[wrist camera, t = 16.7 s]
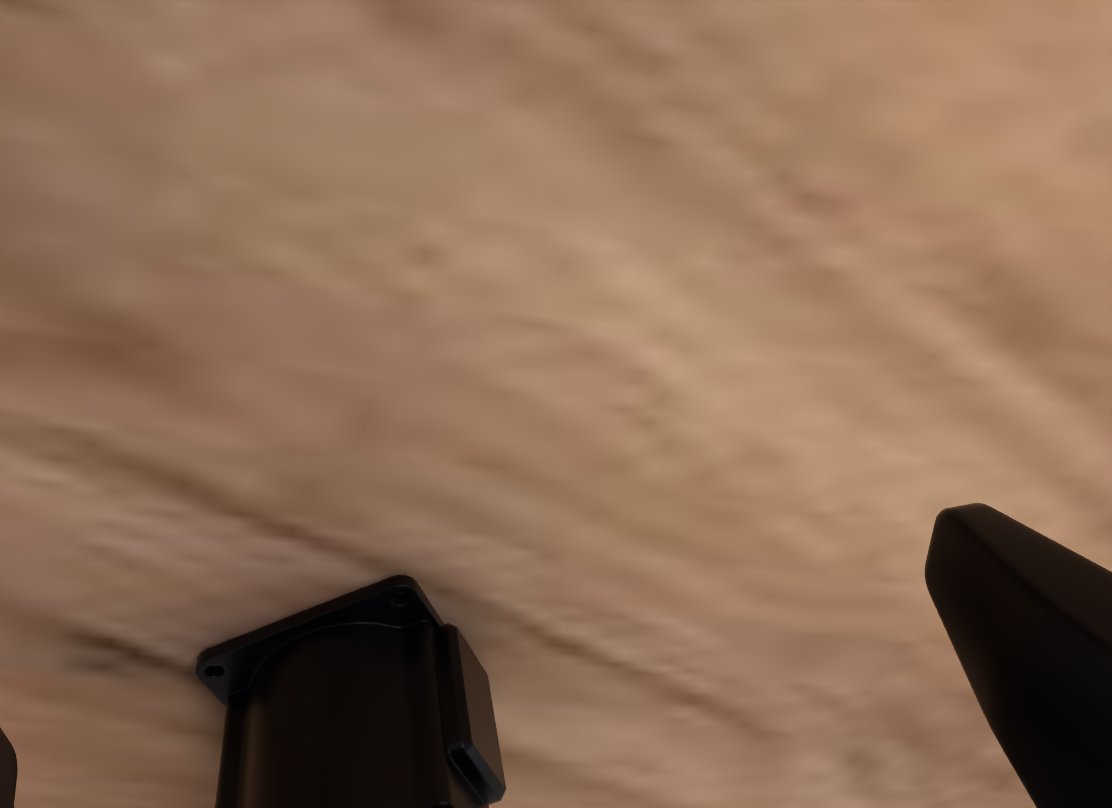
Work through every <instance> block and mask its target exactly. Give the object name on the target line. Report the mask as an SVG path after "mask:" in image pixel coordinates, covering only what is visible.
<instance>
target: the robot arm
mask: <svg viewBox="0 0 1112 808" xmlns="http://www.w3.org/2000/svg"><path fill="white" fill-rule="evenodd" d="M925 580H926V585H927V588H928V591H929V593H930V596H931V598H932V600H933V602H934V605H935V607H936V609H937V611H938V614H939V616H940V618H941V620H942V622H943V625H944V627H945V629H946V631H947V634H948V636H949V638H950V640H951V642H952V645H953V647H954V649H955V651H956V653H957V656H958V658H959V660H960V662H961V665H962V667H963V669H964V671H965V673H966V676H967V678H968V680H969V682H970V685H971V687H972V689H973V691H974V693H975V696H976V698H977V700H978V702H979V704H980V707H981V709H982V711H983V713H984V715H985V717H986V719H987V721H988V723H989V725H990V727H991V729H992V731H993V733H994V735H995V736H996V738H997V740H998V742H999V744H1000V745H1001V747H1002V749H1003V751H1004V753H1005V754H1006V756H1007V758H1008V759H1009V761H1010V763H1011V764H1012V766H1013V768H1014V770H1015V771H1016V773H1017V775H1018V776H1019V778H1020V780H1021V782H1022V783H1023V785H1024V787H1025V788H1026V790H1027V792H1028V793H1029V795H1030V797H1031V799H1032V800H1033V802H1034V804H1035V805H1036V807H1037V808H1112V572H1111V571H1109V570H1107V569H1105V568H1103V567H1101V566H1099V565H1098V564H1096V563H1094V562H1092V561H1090V560H1088V559H1086V558H1085V557H1083V556H1081V555H1079V554H1077V553H1075V552H1074V551H1072V550H1070V549H1068V548H1066V547H1064V546H1062V545H1061V544H1059V543H1057V542H1055V541H1053V540H1051V539H1049V538H1048V537H1046V536H1044V535H1042V534H1040V533H1038V532H1036V531H1035V530H1033V529H1031V528H1029V527H1027V526H1025V525H1023V524H1022V523H1020V522H1018V521H1016V520H1014V519H1012V518H1010V517H1009V516H1007V515H1005V514H1003V513H1001V512H999V511H997V510H996V509H994V508H992V507H990V506H988V505H985V504H981V503H973V504H967V505H962V506H957V507H951V508H946V509H944V510H942V511H941V512H940V513H939V514H938V516H937V517H936V520H935V524H934V528H933V533H932V537H931V542H930V546H929V551H928V555H927V560H926V564H925ZM399 592H404V594H401V595H396V593H399ZM212 665H219V666H212ZM196 675H197V677H198V678H199V679H200V680H201V681H202V682H203V683H204V684H205V685H206V686H207V688H208V689H209V690H210V691H211V692H212V693H213V694H214V695H215V696H216V697H217V698H218V699H219V700H220V701H221V702H222V703H223V704H224V705H225V706H226V712H225V721H224V730H223V739H222V748H221V757H220V766H219V775H218V784H217V794H216V803H215V808H489V804H492V803H495V802H497V801H500V800H501V799H502V797H503V795H504V792H505V790H506V785H505V779H504V773H503V766H502V760H501V754H500V748H499V742H498V736H497V729H496V723H495V717H494V711H493V705H492V699H491V693H490V686H489V680H488V675H487V673H486V672H485V670H484V668H483V667H482V665H481V664H480V662H479V661H478V659H477V658H476V656H475V654H474V653H473V651H472V650H471V648H470V647H469V645H468V643H467V642H466V640H465V639H464V637H463V636H462V634H461V632H460V631H459V629H458V628H457V627H455V626H453V625H451V624H449V623H447V624H445V625H444V623H443V622H442V620H441V619H440V617H439V616H438V614H437V612H436V611H435V609H434V608H433V606H432V605H431V603H430V602H429V600H428V599H427V597H426V596H425V594H424V593H423V591H422V589H421V588H420V586H419V585H418V583H417V582H416V581H415V580H414V579H413V578H412V577H409V576H406V575H397V576H393V577H390V578H387V579H385V580H382V581H380V582H377V583H375V584H372V585H369V586H367V587H364V588H362V589H359V590H357V591H354V592H352V593H349V594H346V595H344V596H341V597H339V598H336V599H334V600H331V601H329V602H326V603H323V604H321V605H318V606H316V607H313V608H311V609H308V610H306V611H303V612H300V613H298V614H295V615H293V616H290V617H288V618H285V619H282V620H280V621H277V622H275V623H272V624H270V625H267V626H265V627H262V628H259V629H257V630H254V631H252V632H249V633H247V634H244V635H242V636H239V637H236V638H234V639H231V640H229V641H226V642H224V643H221V644H219V645H216V646H213V647H211V648H208V649H206V650H204V651H203V652H201V653H200V654H199V656H198V658H197V665H196ZM16 781H17V759H16V754H15V751H14V748H13V746H12V744H11V743H10V741H9V740H8V738H7V737H6V735H5V734H4V732H3V731H2V729H1V728H0V808H14V799H15V790H16Z"/></svg>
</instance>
